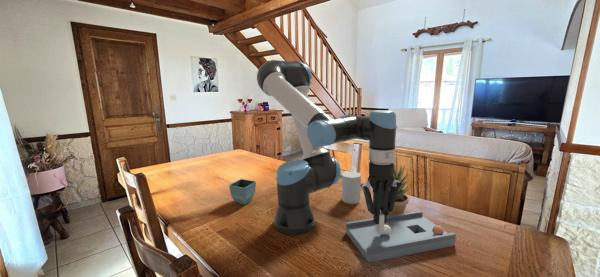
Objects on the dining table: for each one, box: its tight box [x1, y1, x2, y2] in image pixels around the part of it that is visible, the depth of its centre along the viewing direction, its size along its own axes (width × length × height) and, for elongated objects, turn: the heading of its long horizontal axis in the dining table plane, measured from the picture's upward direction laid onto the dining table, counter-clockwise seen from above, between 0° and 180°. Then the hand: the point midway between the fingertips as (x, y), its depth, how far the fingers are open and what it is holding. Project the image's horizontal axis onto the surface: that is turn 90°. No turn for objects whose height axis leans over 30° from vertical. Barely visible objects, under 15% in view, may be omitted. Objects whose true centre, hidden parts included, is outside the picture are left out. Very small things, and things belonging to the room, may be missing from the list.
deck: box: [345, 210, 457, 263], centre depth 84 cm, size 30×16×4 cm, turn 103°
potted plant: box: [388, 153, 410, 216], centre depth 99 cm, size 10×10×25 cm
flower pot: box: [228, 178, 257, 205], centre depth 115 cm, size 9×9×9 cm
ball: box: [384, 225, 391, 235], centre depth 83 cm, size 3×3×3 cm
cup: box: [341, 171, 362, 205], centre depth 114 cm, size 8×8×12 cm
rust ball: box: [432, 224, 445, 236], centre depth 82 cm, size 3×3×3 cm
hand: (379, 232), depth 82 cm, fingers closed
